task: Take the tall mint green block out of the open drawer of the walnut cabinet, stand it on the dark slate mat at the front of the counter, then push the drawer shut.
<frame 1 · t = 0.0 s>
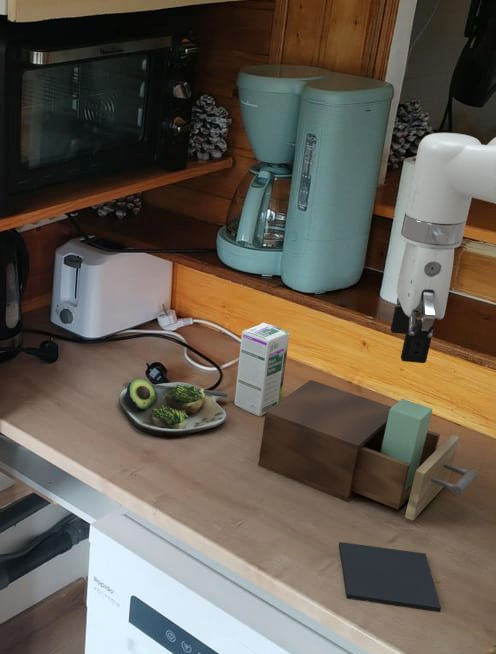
hand: (407, 346, 128), 22 cm above the counter, tool pointing down, fingers open, 9 cm apart
cabinet: (323, 464, 141), on the counter
block: (395, 479, 134), point 2 cm above the counter, touching drawer
slate mat: (386, 576, 117), on the counter
avocado toast plate: (167, 413, 156), on the counter
drawer: (404, 466, 132), point 5 cm above the counter, slide at 8.0 cm, touching block
syrup box: (256, 407, 158), on the counter
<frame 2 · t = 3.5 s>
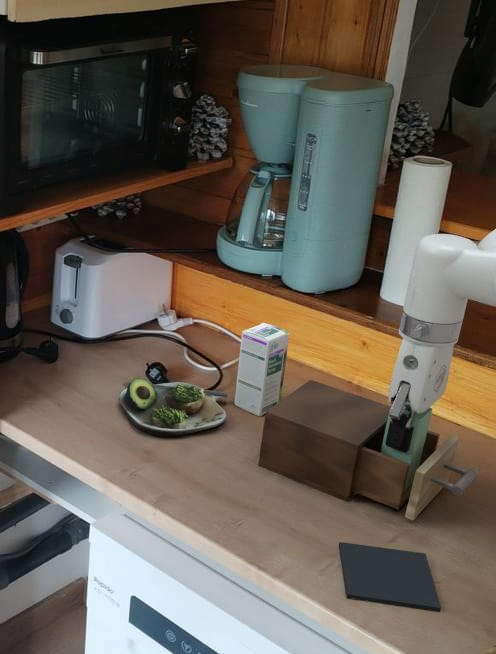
hand: (404, 440, 131), 9 cm above the counter, tool pointing down, fingers closed on block, 4 cm apart
block: (395, 479, 134), point 2 cm above the counter, touching drawer, gripper
everything else where it was.
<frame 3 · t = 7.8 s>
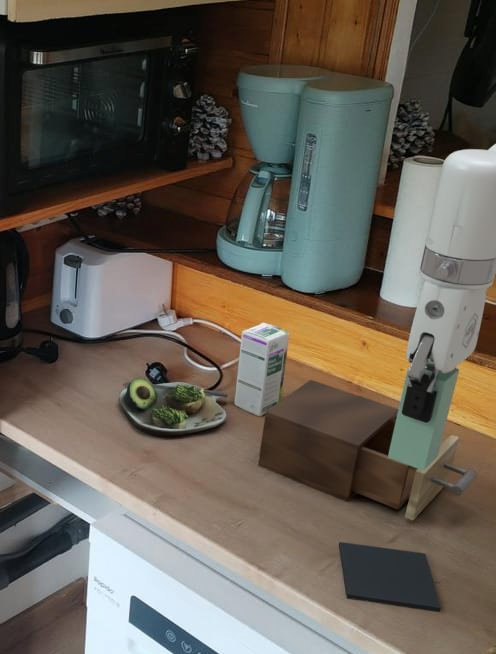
hand: (424, 409, 108), 24 cm above the counter, tool pointing down, fingers closed on block, 4 cm apart
block: (412, 457, 111), point 17 cm above the counter, touching gripper
drawer: (404, 466, 132), point 5 cm above the counter, slide at 8.0 cm
everything else where it was.
when the fingers open (7 cm above the counter, at t = 12.5 s): block stays where it is, resting on slate mat.
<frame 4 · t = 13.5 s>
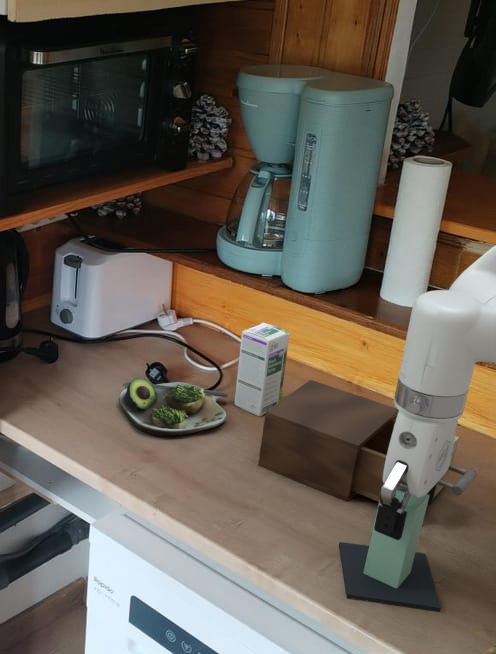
hand: (403, 517, 113), 9 cm above the counter, tool pointing down, fingers open, 9 cm apart
block: (386, 573, 117), point 1 cm above the counter, touching slate mat
everything else where it was.
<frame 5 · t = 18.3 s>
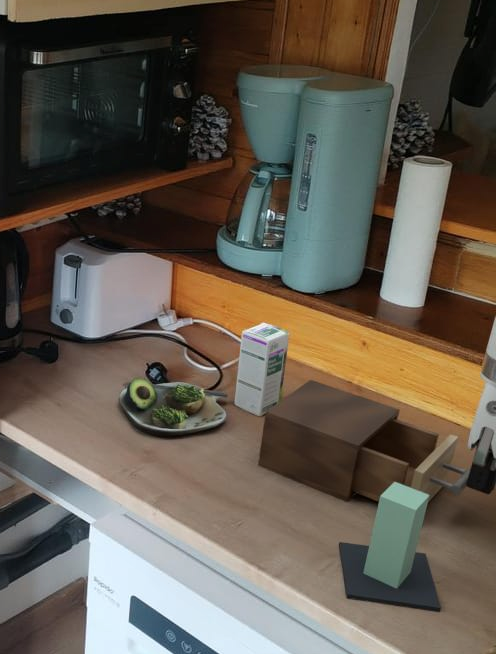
hand: (479, 488, 125), 6 cm above the counter, tool pointing down, fingers closed
drawer: (403, 465, 132), point 5 cm above the counter, slide at 7.8 cm, touching gripper
everything else where it was.
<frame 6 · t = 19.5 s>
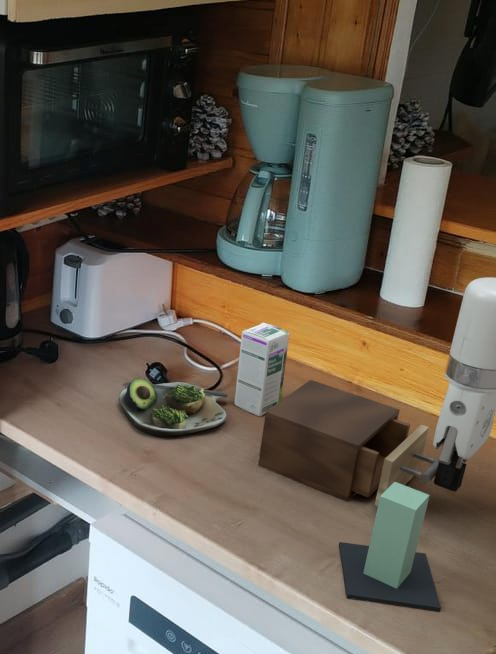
hand: (446, 485, 128), 4 cm above the counter, tool pointing down, fingers closed
drawer: (375, 455, 135), point 5 cm above the counter, slide at 3.6 cm, touching gripper
everything else where it was.
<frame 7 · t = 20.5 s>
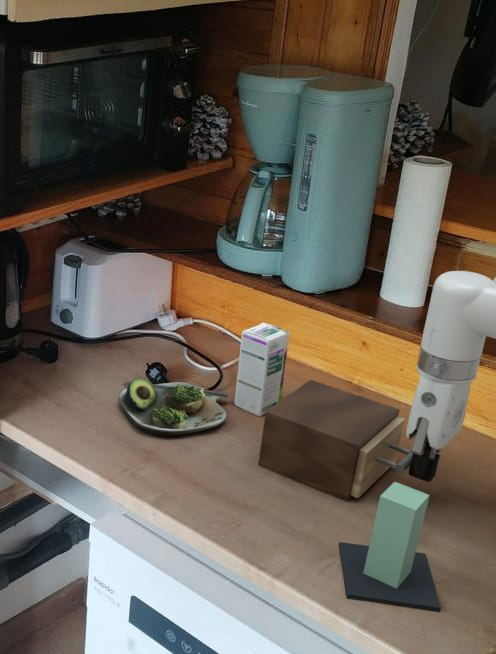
hand: (421, 476, 131), 4 cm above the counter, tool pointing down, fingers closed
drawer: (352, 446, 137), point 5 cm above the counter, slide at 0.0 cm, touching cabinet, gripper
everything else where it was.
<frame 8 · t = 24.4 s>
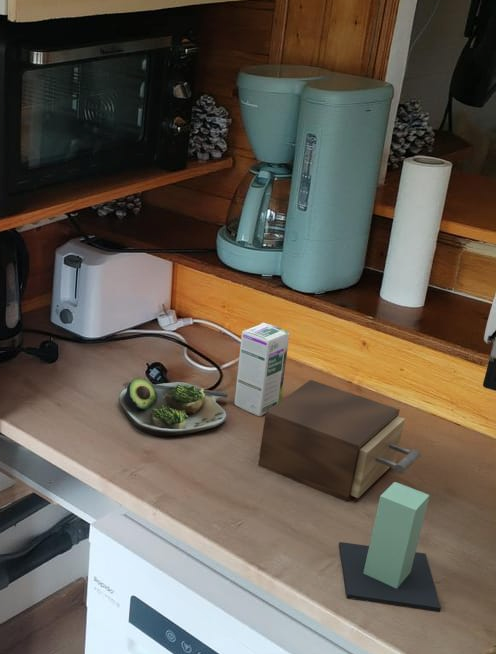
drawer: (352, 446, 137), point 5 cm above the counter, slide at 0.0 cm, touching cabinet
everything else where it was.
at the end: block inside the target area on the slate mat (0.1 cm from its centre), point 0.6 cm above the slate mat's base; block tilted 0°; drawer slide at 0.0 cm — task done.
